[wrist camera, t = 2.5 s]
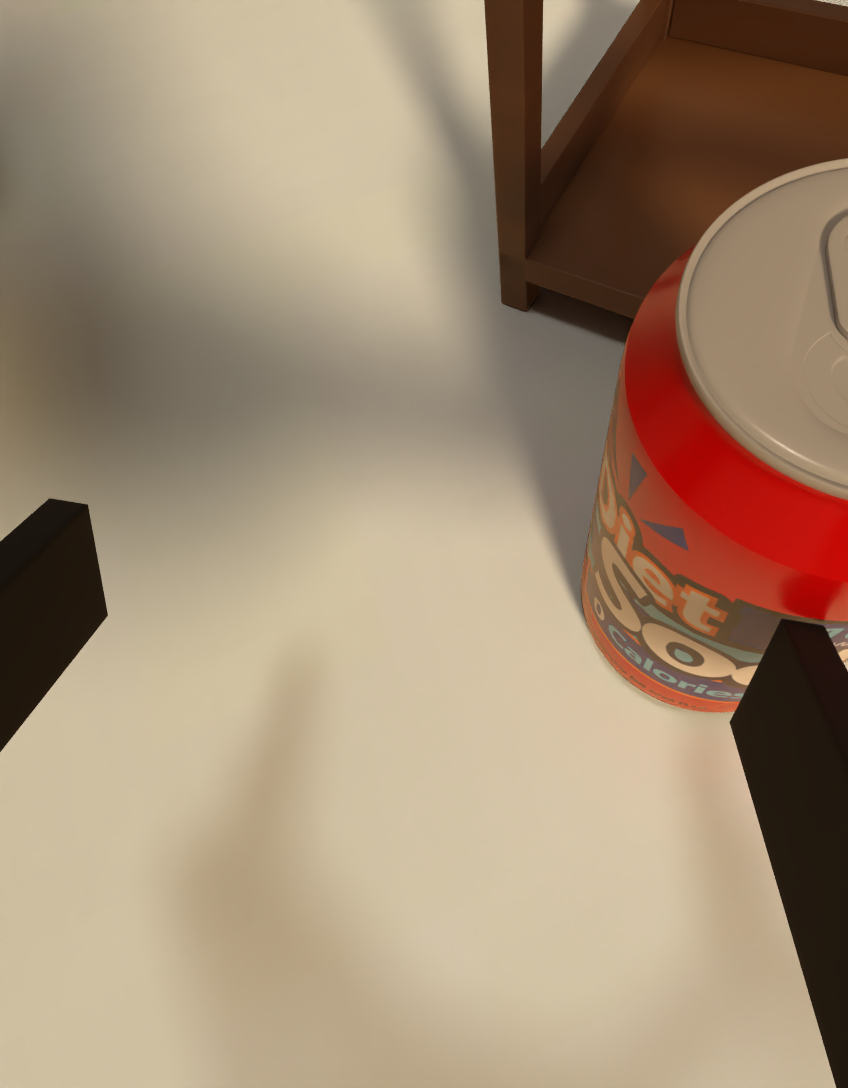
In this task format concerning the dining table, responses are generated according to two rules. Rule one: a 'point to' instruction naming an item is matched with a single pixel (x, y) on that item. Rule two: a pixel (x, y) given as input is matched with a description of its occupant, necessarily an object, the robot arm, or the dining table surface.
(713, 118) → the shelf stand
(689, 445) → the soda can
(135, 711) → the dining table surface
